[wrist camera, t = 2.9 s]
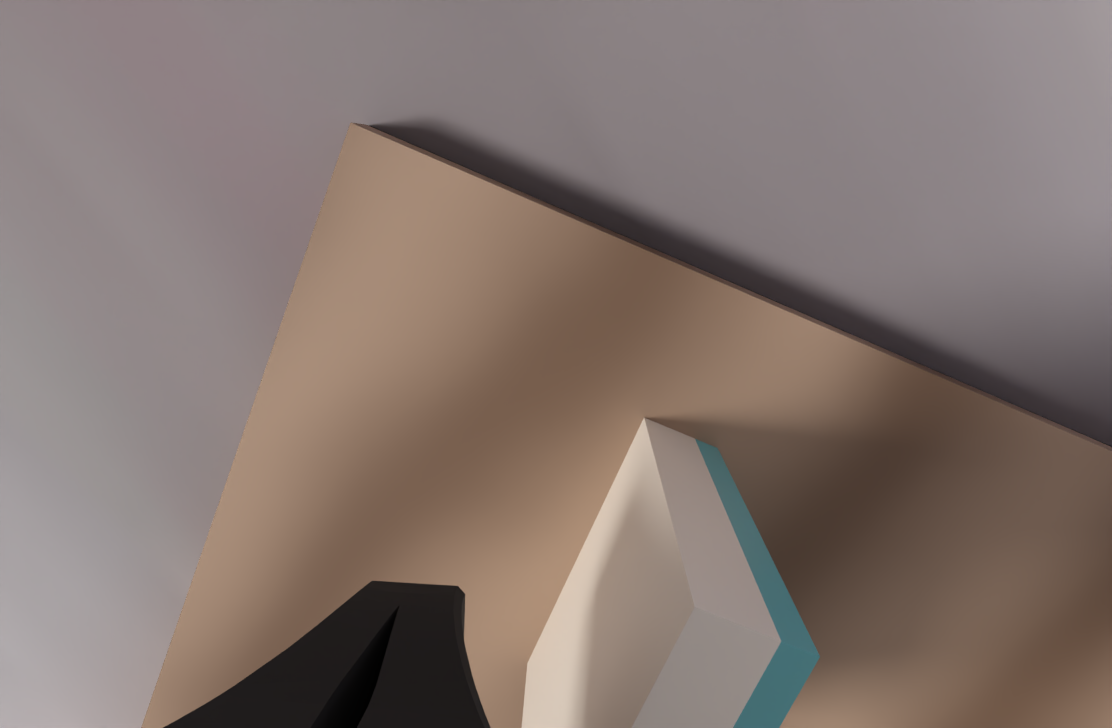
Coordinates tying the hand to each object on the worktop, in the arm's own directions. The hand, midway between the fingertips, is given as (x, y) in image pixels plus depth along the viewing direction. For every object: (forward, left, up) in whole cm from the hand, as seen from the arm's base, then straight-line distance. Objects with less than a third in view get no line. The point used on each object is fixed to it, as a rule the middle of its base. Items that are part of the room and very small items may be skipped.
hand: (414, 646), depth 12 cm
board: (-6, +2, -6) cm, 9 cm away
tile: (-3, 0, -5) cm, 6 cm away
